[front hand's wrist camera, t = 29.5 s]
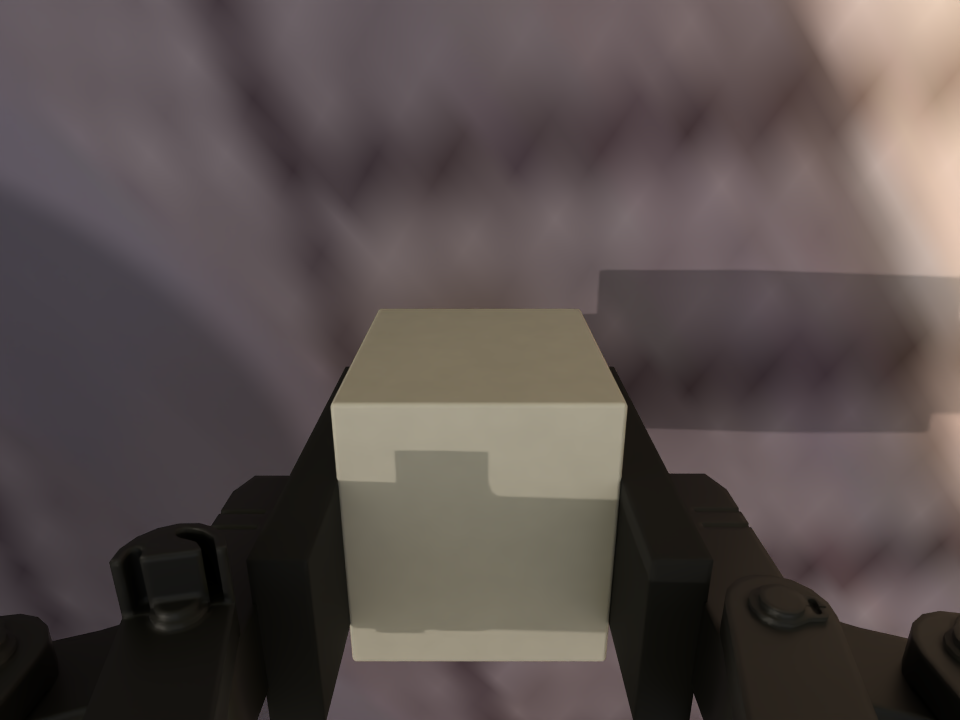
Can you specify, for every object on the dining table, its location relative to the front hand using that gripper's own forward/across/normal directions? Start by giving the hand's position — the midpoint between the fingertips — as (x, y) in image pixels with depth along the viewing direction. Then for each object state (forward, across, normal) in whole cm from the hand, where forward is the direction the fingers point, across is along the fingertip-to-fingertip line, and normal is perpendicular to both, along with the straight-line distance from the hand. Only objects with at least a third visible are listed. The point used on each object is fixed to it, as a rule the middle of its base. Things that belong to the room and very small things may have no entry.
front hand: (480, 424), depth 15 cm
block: (0, 0, 0) cm, 0 cm away
